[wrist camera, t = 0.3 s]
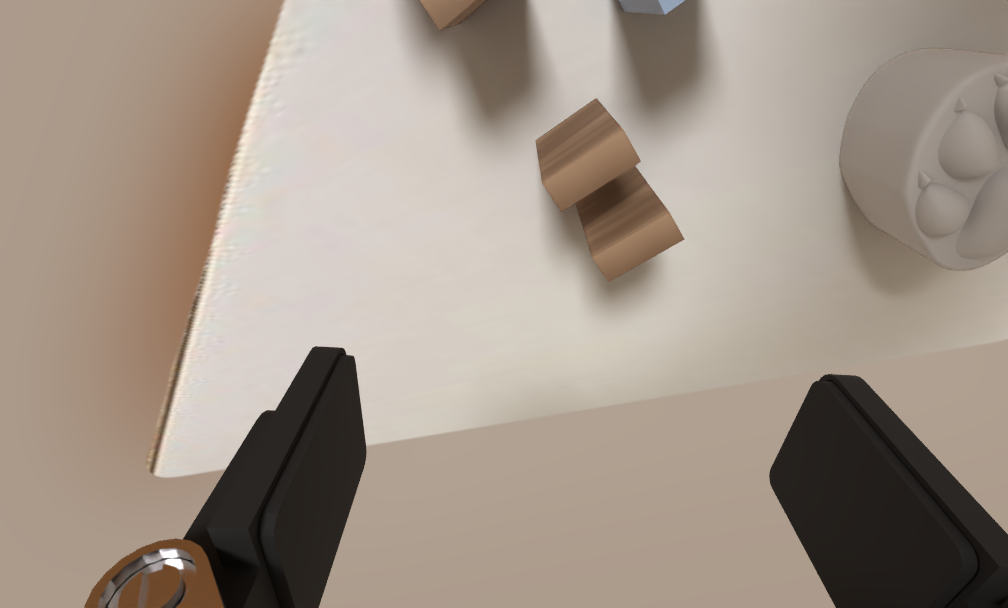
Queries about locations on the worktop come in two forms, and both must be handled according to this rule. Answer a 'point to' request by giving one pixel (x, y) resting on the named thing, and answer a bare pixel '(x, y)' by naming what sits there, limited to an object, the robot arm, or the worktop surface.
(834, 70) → the worktop surface
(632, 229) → the domino
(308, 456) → the robot arm
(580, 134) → the domino
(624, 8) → the blue domino
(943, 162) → the lumpy-topped squat cylinder
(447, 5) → the domino
